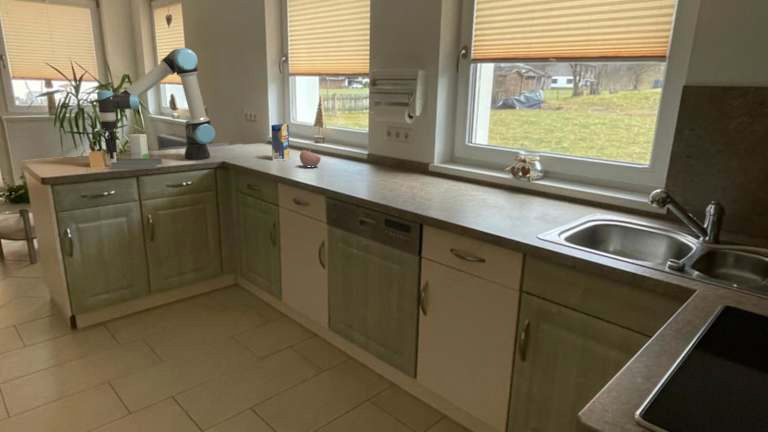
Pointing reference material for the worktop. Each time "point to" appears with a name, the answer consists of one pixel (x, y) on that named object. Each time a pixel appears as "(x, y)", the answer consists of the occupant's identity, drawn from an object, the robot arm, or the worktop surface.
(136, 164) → the channel
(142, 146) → the skincare box
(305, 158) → the reddish-brown rounded lump
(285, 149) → the beverage box
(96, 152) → the orange block
